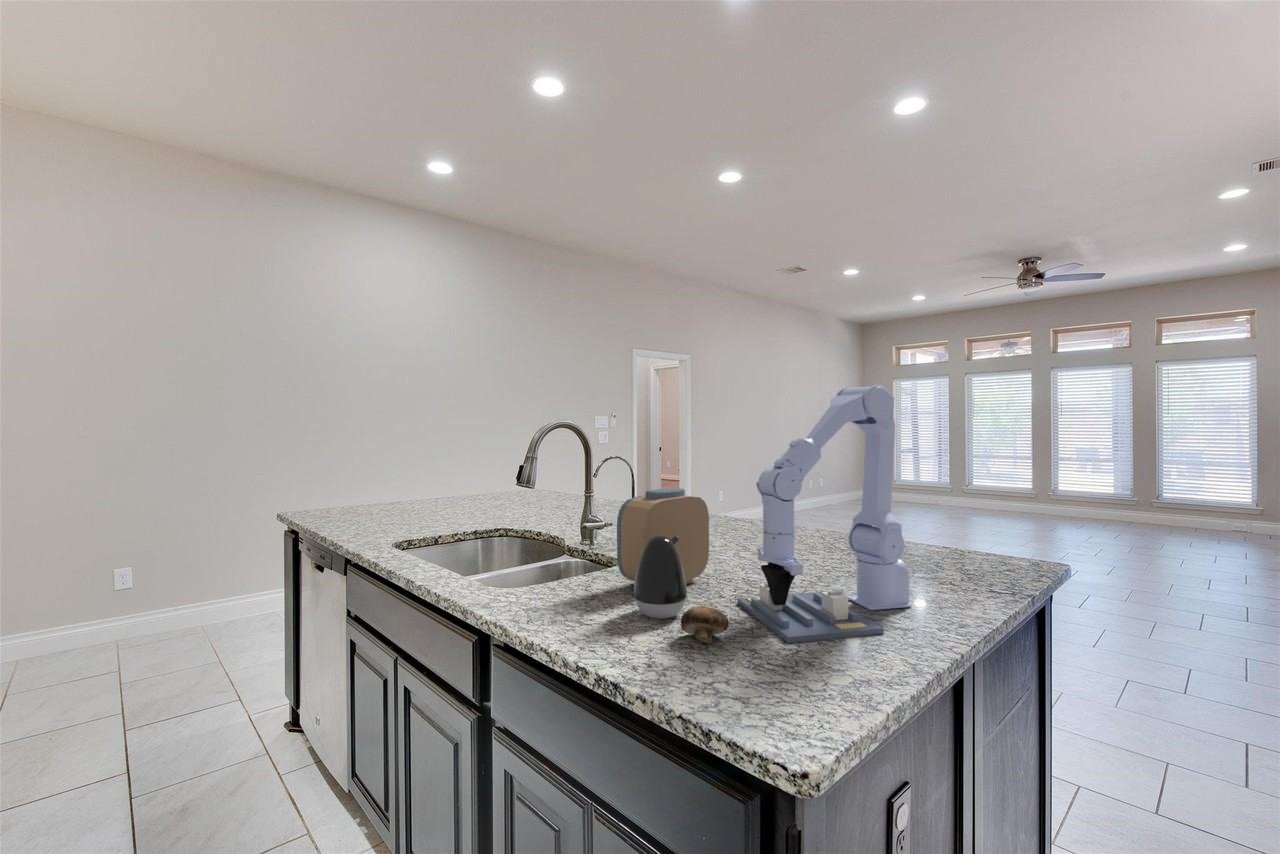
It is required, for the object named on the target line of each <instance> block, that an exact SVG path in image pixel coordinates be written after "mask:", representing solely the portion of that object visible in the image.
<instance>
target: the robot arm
mask: <svg viewBox="0 0 1280 854" xmlns="http://www.w3.org/2000/svg"><path fill="white" fill-rule="evenodd" d="M894 404H895V397H894V396H893V395H892V394H891V393H890V392H889V390H888V389H887V388H886V387H884V386H883V385H880V384H874V385H871V386H861V387H843V388H841V389H840V390H838V392H837V393H836V395H835V396H834V397H832V398H831V399H830V405H829V407H828V408H827V410H826V411H825V412H824V413H823V415H822V416H821V418H820V419H818V421H817V423H816V424H815V425H814V427H813V428H812V429H811V431H810V432H809V434H808V435H807V436H806V437H804V438H803V437H800V438H797V439H795V440H791V441H790V443H789V444H788V446H789V448H788V449H787V450H786V451H785V452H784V453H783V454H782V455H781V457H780V458H779V459H778V458H777V459H776V460H775V461H774V462H773V466H772V467H767V468H766V469H764V470H763V471H762V472H761V473H760V475H759V478H758V481H756V483H755V484H756V489H757V491H758V493H759V494H760V496H761V503H763V504H762V515H763V516H762V524H763V525H762V531H763V532H762V534H763V535H762V539H763V542H762V543H763V547H762V546H761V547H760V546H759V547H757V560H759V561H761V562H768V563H767V564H761V566H760V569H761V572H762V573H763V575H764V577H765V580H766V583H768V586H769V590H770V595H771V599H772V602H773V604H774V605H785V604H786V601H787V597H788V594H790V593H789V592H790V589H791V586H792V583H793V581H794V579H795V577H796V576H802V575H803V574H804V573H803V572H804V571H803V570H804V567H803V566H804V564H803V563H802V562H800V561H799V559H798V557H797V556H796V555H795V554H796V553H795V552H796V551H795V544H796V543H795V538H796V537H795V498H796V497H797V496H799V495H800V493H801V491H802V487H803V486H802V484H803V482H804V480H805V477H806V476H807V475H808V474H809V473H810V471H812V469H813V468H814V467H815V466H816V464H818V462H819V461H820V460H821V458H822V451H821V449H822V448H823V447H825V445H826V444H827V443H828V442H829V441H830V440H831V439H832V438H833V437H834V436H835V435H836V434H837V433H838V432H839V431H840V430H841V429H842V428H843V427H844V426H845V425H846V424H847V423H851V424H854V425H856V426H857V427H858V428H860V430H861V431H862V432H863V433H864V434H865V439H864V459H863V460H864V462H863V464H864V465H863V478H862V479H863V480H862V481H863V482H862V497H861V498H862V499H861V510H860V511H859V512H858V513H856V515H854V517H853V518H852V525H851V528H850V530H849V533H848V537H847V538H848V539H847V541H848V547H849V548H850V549H851V550H852V551H853V554H854V557H855V558H856V595H848V596H847V597H848V600H850V601H852V602H854V603H855V604H857V605H860V606H861V607H862V608H865V609H867V610H869V611H878V610H890V609H900V608H901V609H902V608H911V607H912V603H910V573H909V569H908V567H907V564H906V563H905V562H904V561H903V560H902V559H901V557H902V555H903V553H904V550H905V540H904V537H903V533H902V528H903V527H902V524H901V522H900V521H899V520H898V519H897V518H896V517H895V516H894V514H892V501H893V500H892V497H893V476H894V458H895V457H894V456H895V439H896V423H895V419H894V409H895V408H894V406H895V405H894Z"/></svg>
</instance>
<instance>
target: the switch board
mask: <svg viewBox="0 0 1280 854" xmlns="http://www.w3.org/2000/svg"><path fill="white" fill-rule="evenodd" d="M737 604H738V605H739V606H741V607H742V608H743V609H744V610H745V611H747V612H748V613H750V614H751V615H752V616H753V617H755V619H757V620H758V621H759V622H761V623H762V624H763V625H764V626H767V627H768V629H770V630H771V631H772V632H773V633H775V634H776V635H778V637H780V638H782V640H783V641H785V642H786V643H788V644H791V643H792V644H793V643H803V642H812V641H813V642H815V641H823V640H834V639H845V638H854V637H864V636H865V637H866V636H873V635H874V636H877V635H884V627H882V626H881V625H879V624H877V623H876V622H874V621H872V620H870V619H867V618H865V617H864V616H862V615H861V614H858V613H857V612H855V611H853V610H851V609H850V608H848V619H845V620H836V617H835V616H833V615H832V614H830V613H828V612H827V611H825V610H823V609H822V593H820V592H818V591H814V592H811V591H810V592H803V593H802V592H800V593H798V592H797V593H788V597H787V601H786V604H785V605H783V610H773V609H772V608H770V607H769V606H767V605H766V604H765V603H763V602H762V601H760V595H759V596H748V597H737Z"/></svg>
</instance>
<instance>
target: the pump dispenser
mask: <svg viewBox="0 0 1280 854" xmlns="http://www.w3.org/2000/svg"><path fill="white" fill-rule="evenodd" d="M678 540H679V538H678V537H677V536H675V537H673V538H672V539H671V540H670V539H669V538H667V537H665V536H655V537H653V538H651V539H650V540H649V541H648V542H647V544H646V546H645V548H644V550H643V552H642V555H641V558H640V561H639V564H638V568H637V572H636V578H635V585H633V597H634V599H635V602H636V605H637V607H638V609H639V611H640V612H641V613H642V614H643V615H645V616H647V617H648V618H651V619H655V620H666V619H671V618H672V617H675V616H676V615H678V614H679V613H680V612H681V611H682V609H683V607H684V605H685V601H686V599H687V598H688V590H687V589H688V588H687V584H686V581H685V575H684V570H683V567H682V563H681V560H680V557H679V554H678V552H677V549H676V547H675V546H674V545H675V544H676V543H677V541H678Z"/></svg>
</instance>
